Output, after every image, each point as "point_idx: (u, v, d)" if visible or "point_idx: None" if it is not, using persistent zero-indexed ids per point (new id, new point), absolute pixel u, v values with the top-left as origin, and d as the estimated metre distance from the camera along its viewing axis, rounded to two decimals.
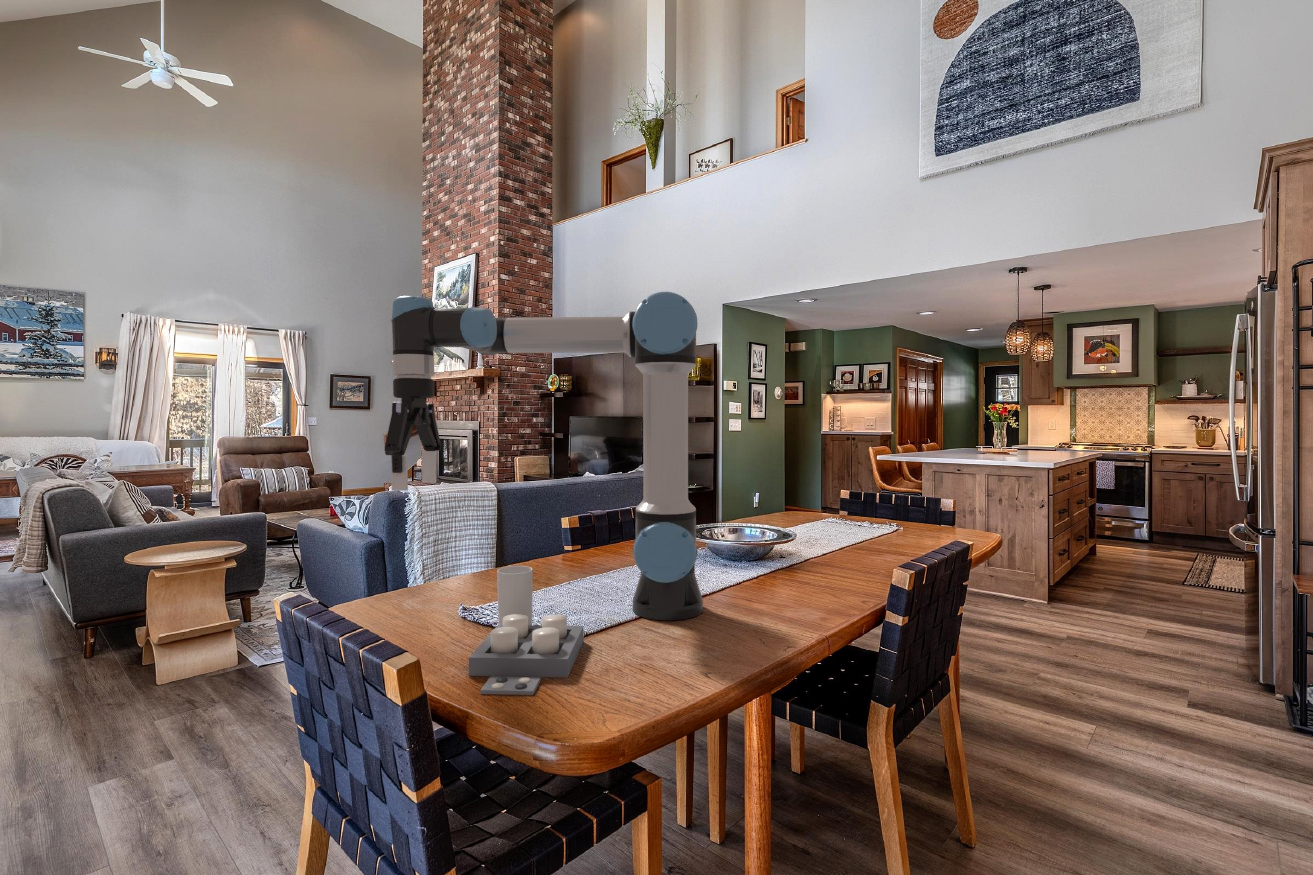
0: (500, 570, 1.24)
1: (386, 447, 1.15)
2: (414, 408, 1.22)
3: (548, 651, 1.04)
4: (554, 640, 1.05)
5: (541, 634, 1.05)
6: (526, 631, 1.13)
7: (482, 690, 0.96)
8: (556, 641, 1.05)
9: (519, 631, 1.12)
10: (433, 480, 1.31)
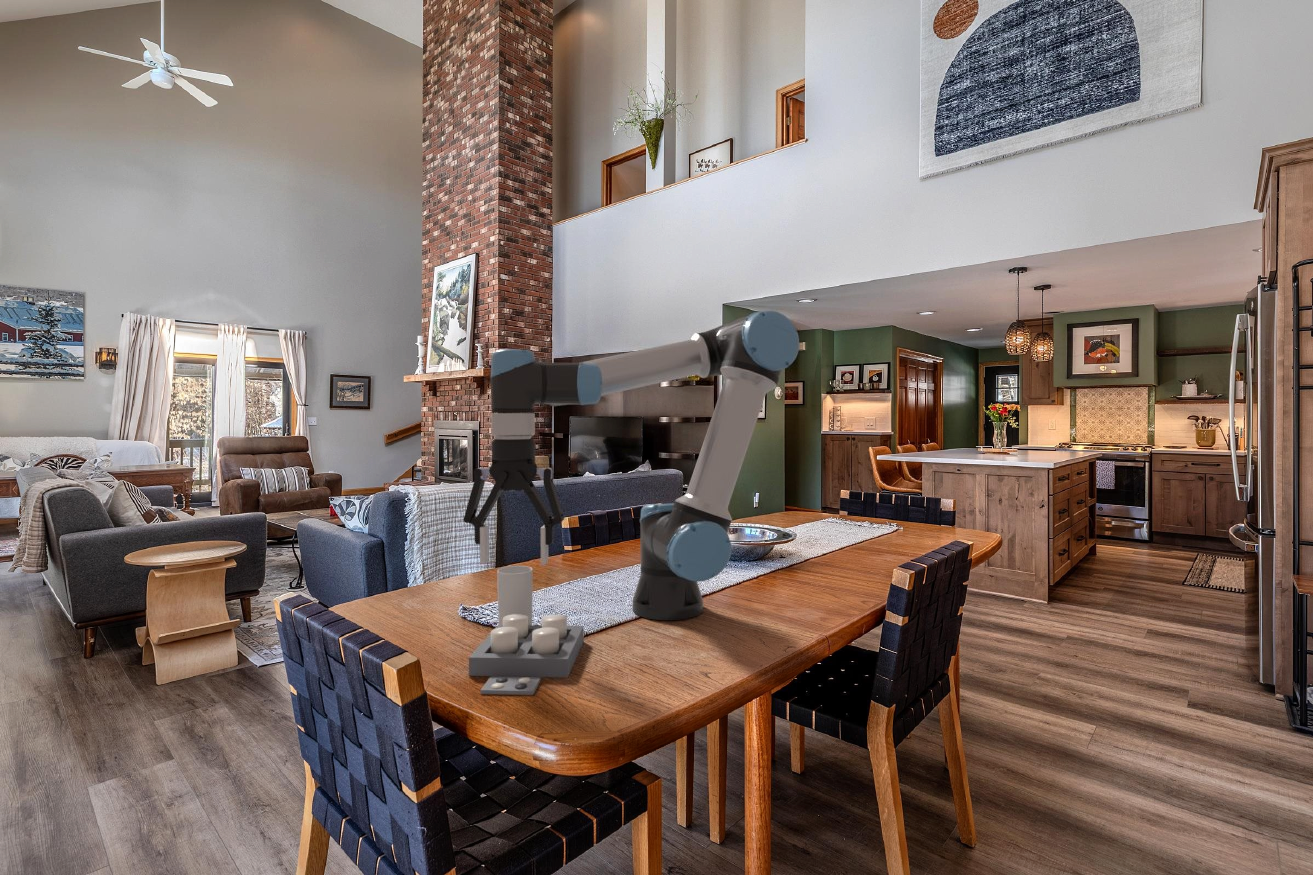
0: (500, 570, 1.24)
1: None
2: (498, 471, 1.12)
3: (548, 651, 1.04)
4: (554, 640, 1.05)
5: (541, 634, 1.05)
6: (526, 631, 1.13)
7: (482, 690, 0.96)
8: (556, 641, 1.05)
9: (519, 631, 1.12)
10: (541, 561, 1.12)
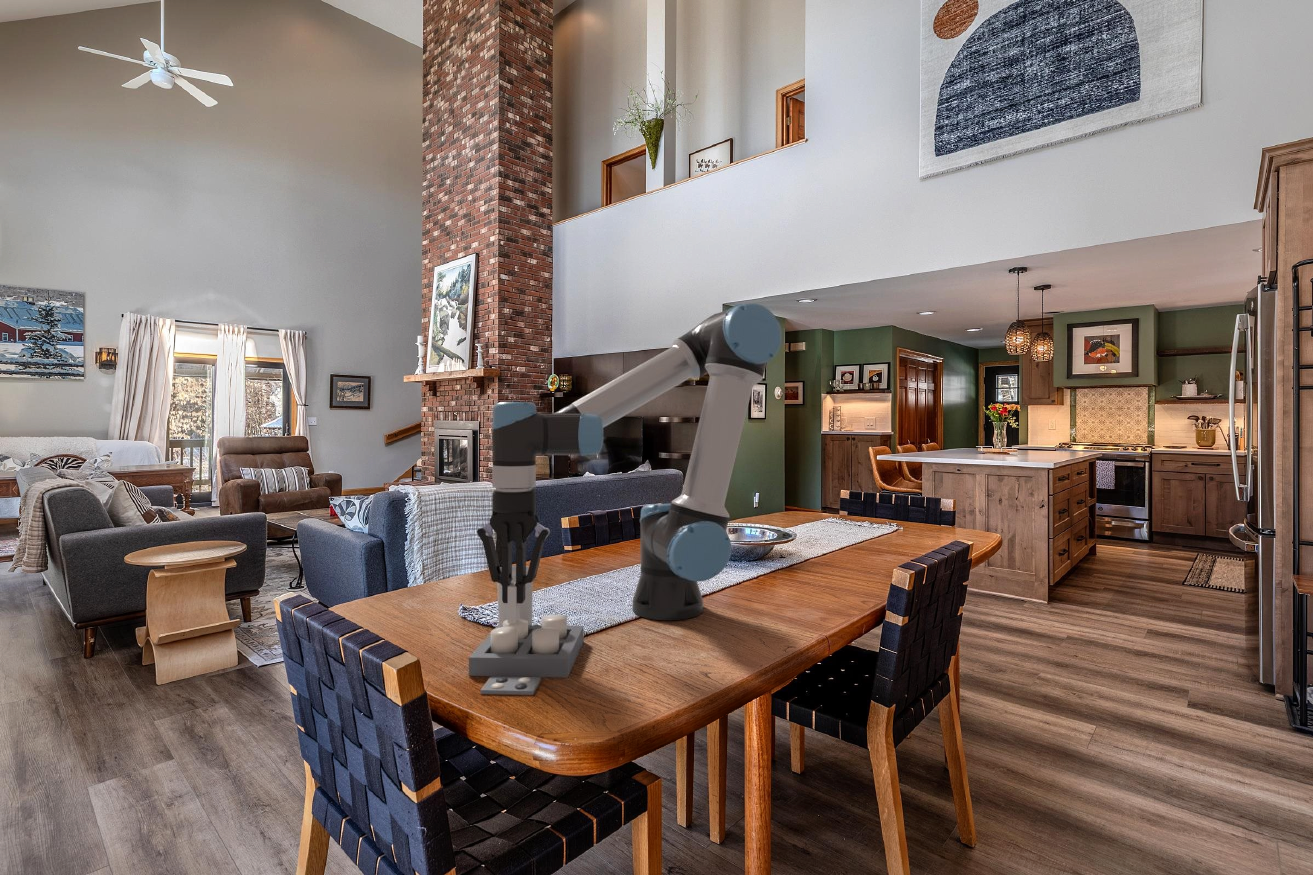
0: None
1: None
2: (498, 520, 1.12)
3: (548, 651, 1.04)
4: (554, 640, 1.05)
5: (541, 634, 1.05)
6: (526, 635, 1.13)
7: (482, 690, 0.96)
8: (556, 641, 1.05)
9: (519, 635, 1.12)
10: None
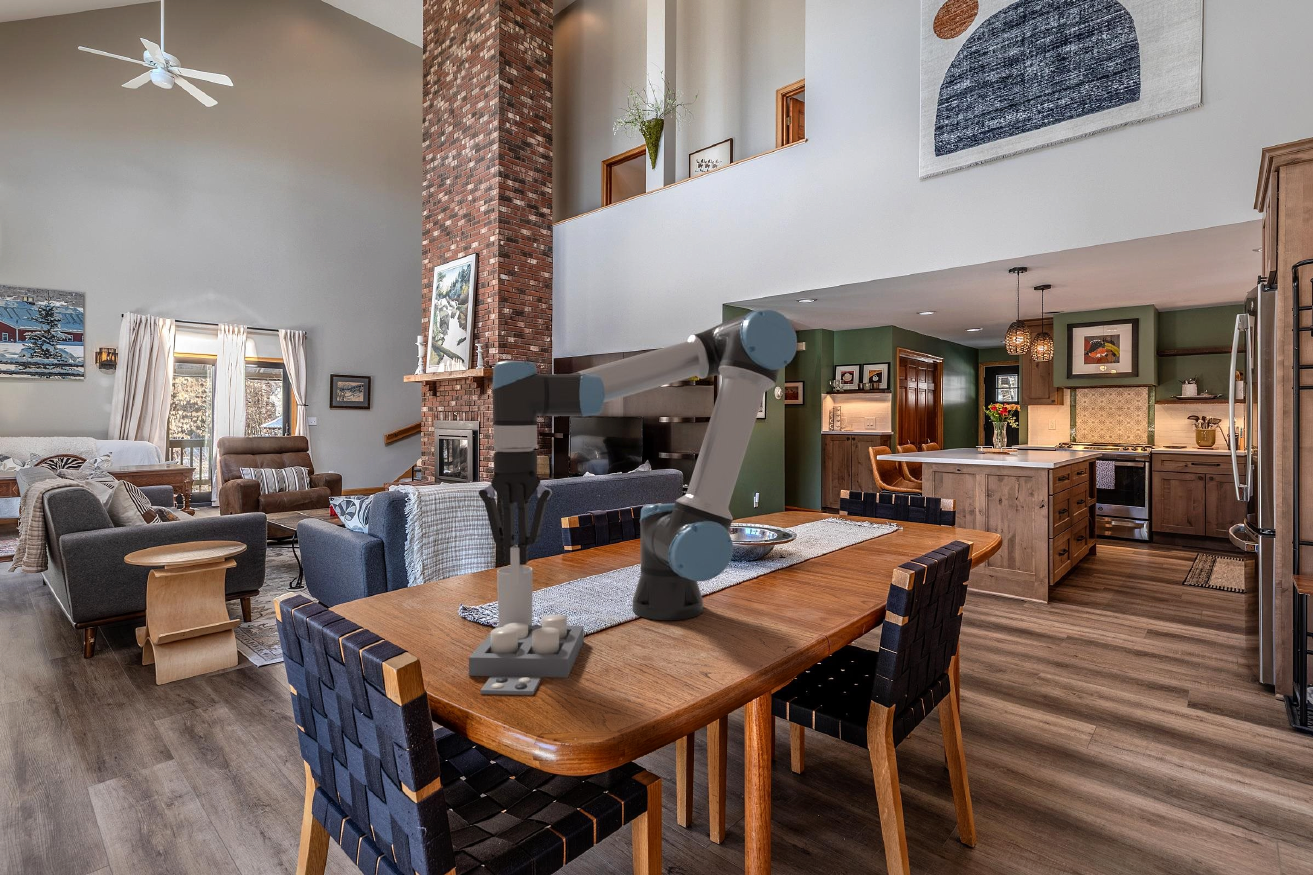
0: (500, 570, 1.24)
1: None
2: (500, 481, 1.11)
3: (548, 651, 1.04)
4: (554, 640, 1.05)
5: (541, 634, 1.05)
6: None
7: (482, 690, 0.96)
8: (556, 641, 1.05)
9: None
10: None
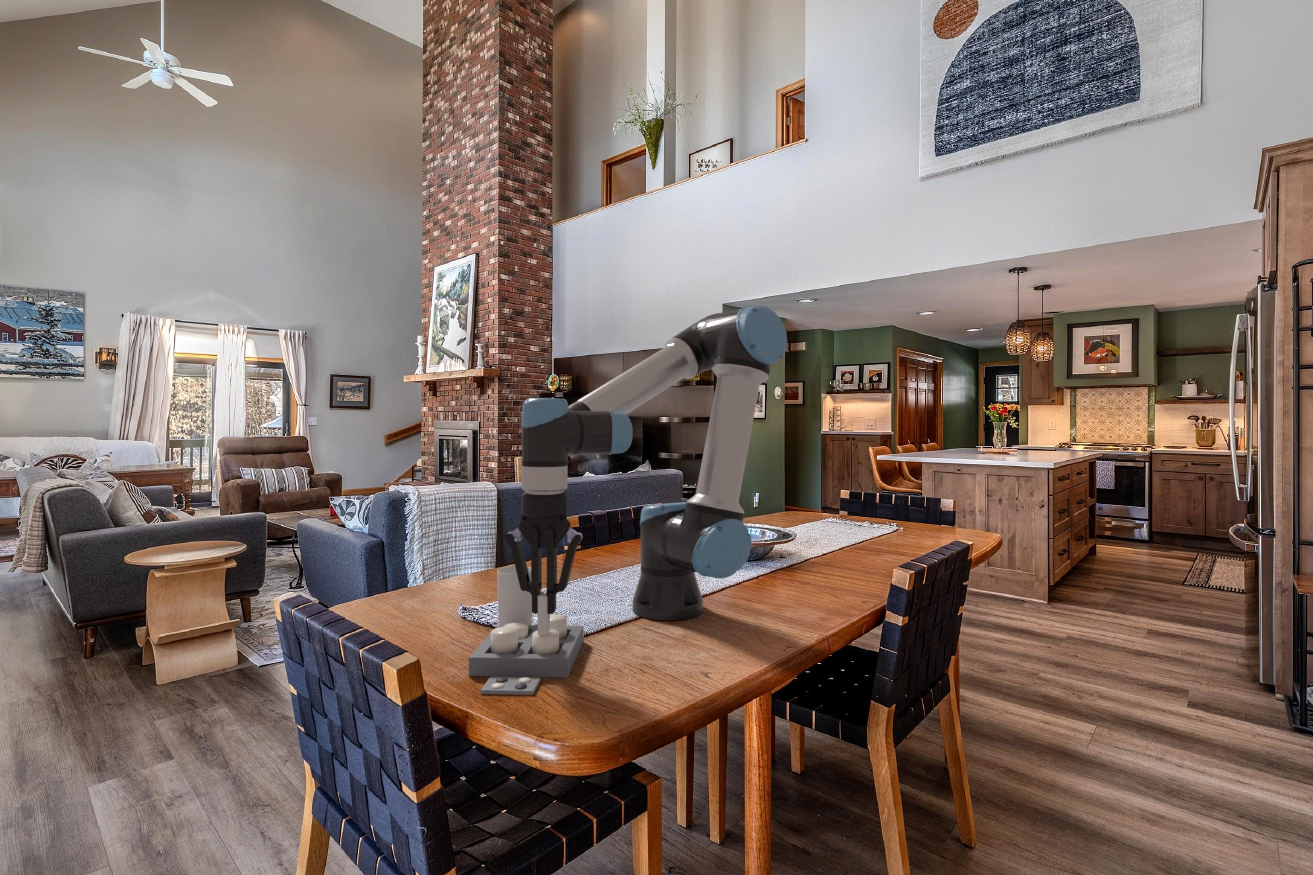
0: (500, 570, 1.24)
1: None
2: (528, 525, 1.05)
3: (548, 653, 1.04)
4: (554, 642, 1.05)
5: (541, 635, 1.05)
6: None
7: (482, 690, 0.96)
8: (556, 643, 1.05)
9: None
10: (542, 631, 1.05)
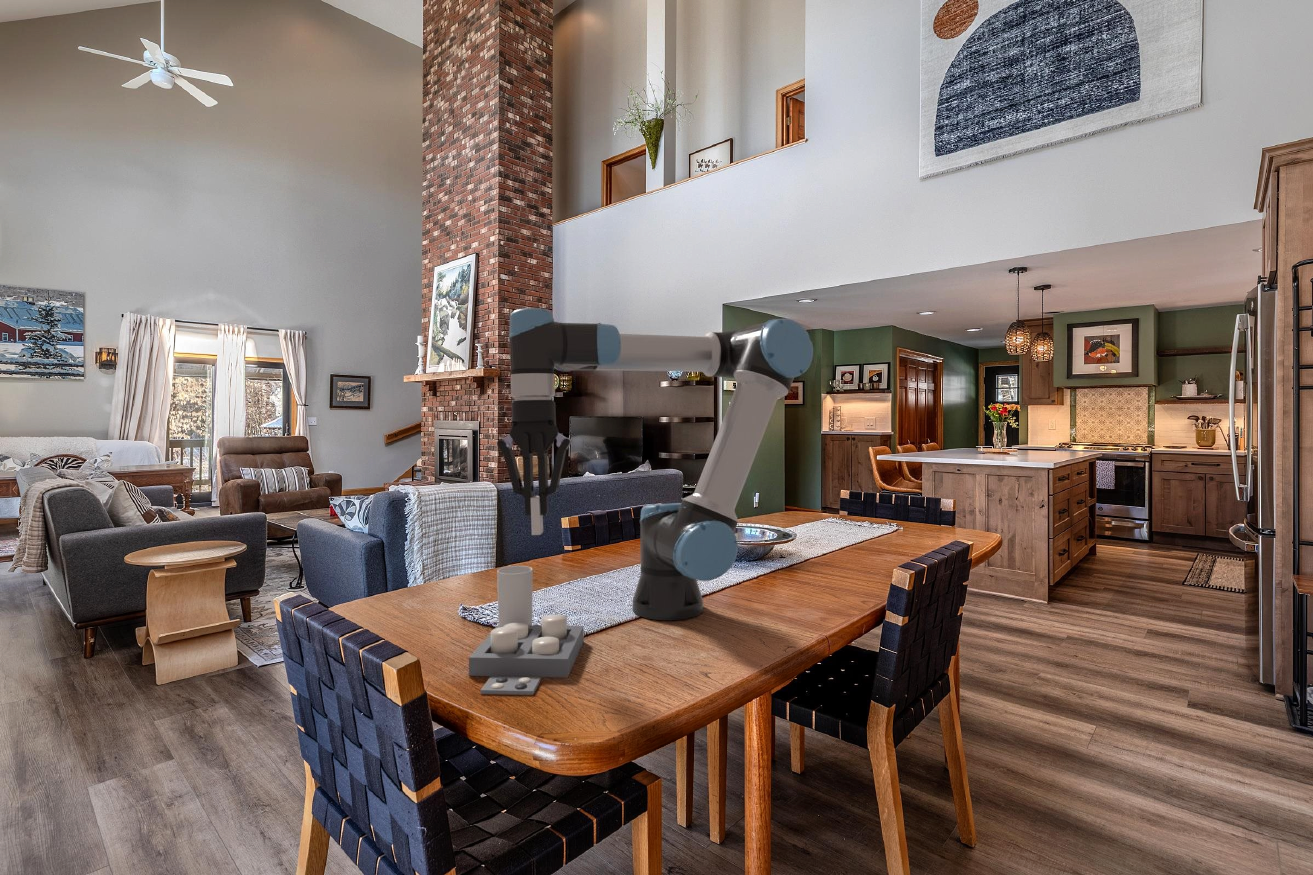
0: (500, 570, 1.24)
1: None
2: (519, 431, 1.10)
3: None
4: (554, 650, 1.05)
5: (541, 643, 1.05)
6: None
7: (482, 690, 0.96)
8: (556, 650, 1.05)
9: None
10: (536, 531, 1.11)
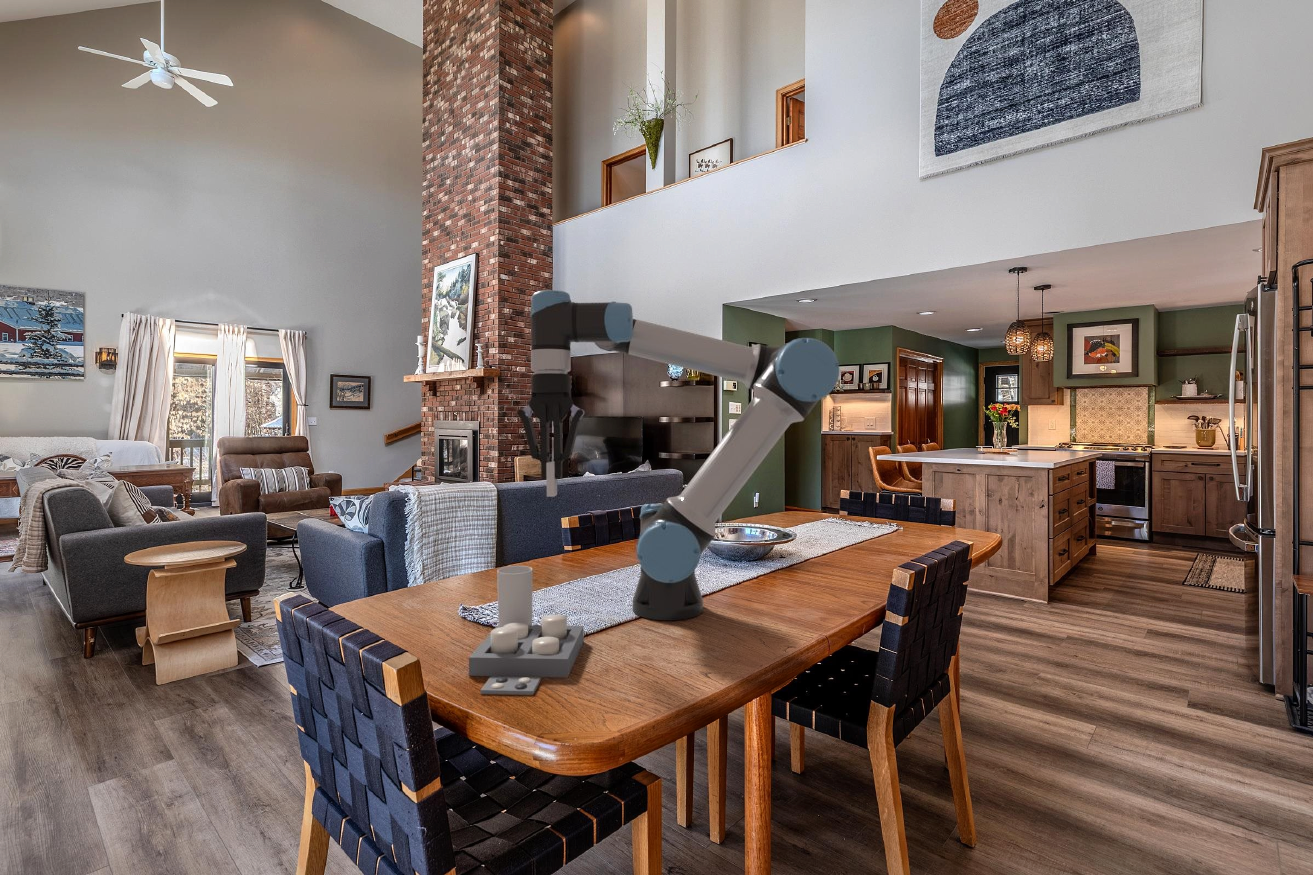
0: (500, 570, 1.24)
1: None
2: (537, 402, 1.21)
3: None
4: (554, 650, 1.05)
5: (541, 643, 1.05)
6: None
7: (482, 690, 0.96)
8: (556, 650, 1.05)
9: None
10: (550, 493, 1.22)
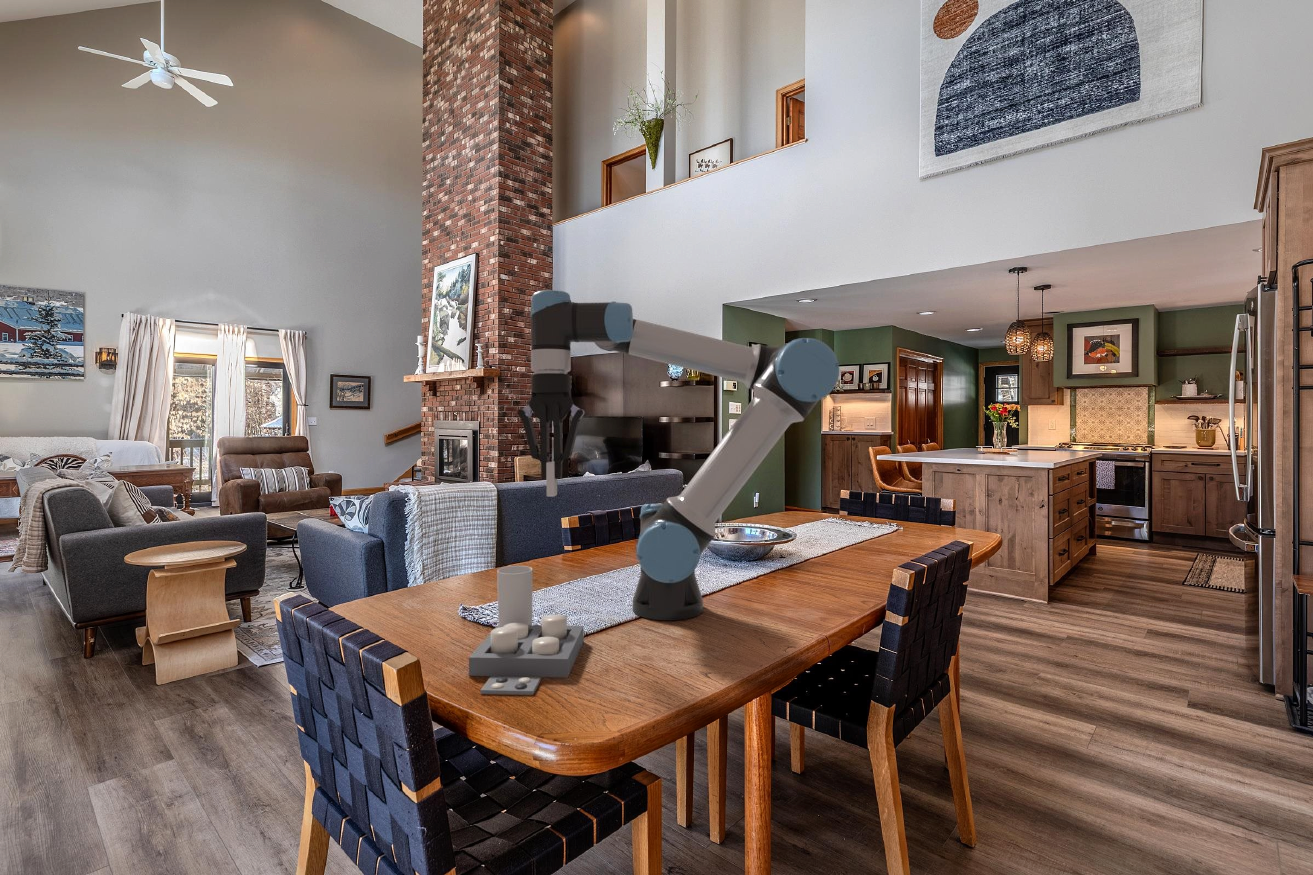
0: (500, 570, 1.24)
1: None
2: (537, 402, 1.21)
3: None
4: (554, 650, 1.05)
5: (541, 643, 1.05)
6: None
7: (482, 690, 0.96)
8: (556, 650, 1.05)
9: None
10: (550, 493, 1.22)
